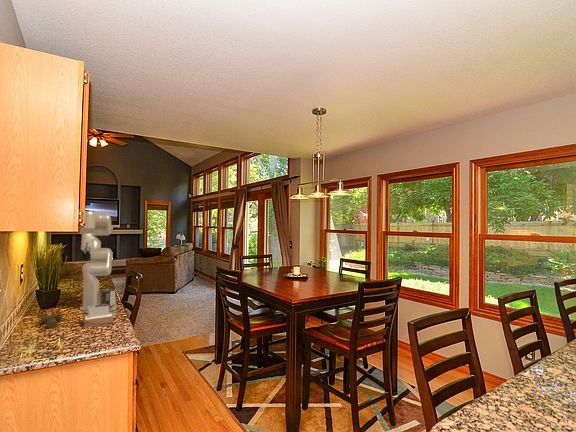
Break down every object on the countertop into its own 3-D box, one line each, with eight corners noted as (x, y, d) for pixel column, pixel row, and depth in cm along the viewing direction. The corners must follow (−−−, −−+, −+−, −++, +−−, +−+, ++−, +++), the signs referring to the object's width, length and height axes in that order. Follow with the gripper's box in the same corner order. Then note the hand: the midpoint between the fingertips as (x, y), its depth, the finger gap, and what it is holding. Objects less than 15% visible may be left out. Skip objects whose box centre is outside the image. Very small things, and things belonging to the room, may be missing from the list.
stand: (83, 323, 187) (83, 315, 187) (110, 319, 195) (110, 312, 196) (84, 327, 180) (84, 319, 180) (112, 323, 188) (112, 315, 188)
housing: (84, 316, 186) (84, 306, 187) (110, 312, 194) (110, 303, 194) (85, 318, 182) (85, 308, 182) (111, 314, 189) (112, 305, 190)
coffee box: (116, 315, 206) (116, 289, 206) (109, 317, 199) (110, 291, 200) (102, 314, 206) (103, 289, 207) (95, 317, 200) (96, 291, 201)
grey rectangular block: (40, 331, 174) (40, 321, 190) (61, 328, 180) (60, 319, 196) (41, 320, 174) (41, 311, 190) (62, 318, 180) (61, 309, 196)
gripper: (79, 231, 199) (78, 259, 199) (81, 231, 185) (80, 261, 185) (93, 231, 204) (92, 258, 203) (96, 231, 190) (95, 260, 189)
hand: (86, 259), depth 194 cm, fingers open, 9 cm apart
